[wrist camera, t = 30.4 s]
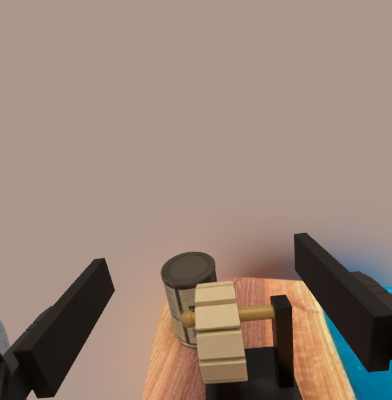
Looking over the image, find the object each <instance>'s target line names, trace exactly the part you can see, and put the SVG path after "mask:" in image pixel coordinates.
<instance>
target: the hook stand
mask: <svg viewBox="0 0 392 400" xmlns="http://www.w3.org/2000/svg"><path fill="white" fill-rule="evenodd" d="M270 299H271V305H260V306H250V307H240V308H238V313H239V319H240V322H242V321H253V320H264V319H272V331H273V347H262V348H249V349H244V352H245V360H246V367H247V376H248V377H247V378H248V380H247V381H241V382H226V383H211V384H206V400H303V399H302V396H301V394H300V391H299V389H298V386H297V383H296V381H295V378H294V364H293V327H292V306H291V304H290V302H289V300H288V298H287V296H286V295H278V296H270ZM181 322H182V324H183V326H184V327H186V328H192V327H193V326H195V312H192V311H186V312H184V313H183V315H182V318H181Z"/></svg>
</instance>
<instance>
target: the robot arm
mask: <svg viewBox="0 0 392 400" xmlns="http://www.w3.org/2000/svg"><path fill="white" fill-rule="evenodd" d="M294 246H295V270H296V272H297V273H298V274H299V276H300V277H301V279H302V280H303V282H304V283H305V284H306V286H307V287H308V289H309V290H310V291H311V293H312V294H313V296H314V297H315V298H316V300H317V301H318V303H319V304H320V305H321V307H322V308H323V310H324V311H325V312H326V314H327V315H328V317H329V318H330V319H331V321H332V322H333V324H334V325H335V326H336V328H337V329H338V331H339V332H340V333H341V335H342V336H343V338H344V339H345V340H346V342H347V343H348V345H349V346H350V347H351V349H352V350H353V352H354V353H355V354H356V356H357V357H358V359H359V360H360V361H361V363H362V364H363V366H364V367H365V368H366V370H367V371H368V372H376V371H388V370H389V364H390V359H391V360H392V294H391V293H388V291H387V290H386V289H384V288H383V287H381V286H380V284H378V283H377V282H376V281H374V280H373V279H372V278H371V277H369V276H367V275H365V274H363V273H361V272H359V271H357V272H349V271H348V270H347V269H346V268H345V267H344V266H342V265H341V264H340V263H339V262H338V261H337V260H336V259H335V258H333V257H332V256H331V255H330V254H329V253H328V252H327V251H326V250H325V249H323V248H322V247H321V246H320V245H319V244H318V243H317V242H316V241H315V240H314V239H312V238H311V237H310V236H309V235H308V234H307V233H300V234H294ZM114 291H115V289H114V286H113V283H112V280H111V276H110V274H109V270H108V267H107V264H106V261H105V258H100V259H94V260H93V261H92V262H91V264H90V265H89V266H88V267H87V268H86V269H85V270H84V272H83V273H82V274H81V275H80V276H79V277H78V278H77V279H76V280H75V282H74V283H73V284H72V285H71V286H70V287H69V288H68V290H67V291H66V292H65V293H64V294H63V295H62V296H61V297H60V299H59V300H58V301H57V302H56V303H55V304H54V305H53V306H50V307H49V308H48V309H47V310H45V311H44V312H43V313H41V314H40V315H39V316H38V317H37V318H36V320H35V321H34V322H33V324H31V325H30V326H29V327H28V329H26V331H25V332H24V333H23V334H22V335H21V336H20V337H19V338H18V339H17V340H16V341H15V343H14V344H13V345H12V346H11V347H10V344H9V341H8V337H7V334H6V331H5V328H4V326H3V324H2V322H1V321H0V400H27V399H26V398H27V396H28V395H29V393H30V392H31V390H32V389H33V391H34V393H35V395H36V397H37V398H50V397H54V396H55V394H56V393H57V391H58V389H59V387H60V386H61V384H62V382H63V380H64V379H65V377H66V375H67V373H68V372H69V370H70V368H71V366H72V364H73V363H74V361H75V359H76V358H77V356H78V354H79V352H80V351H81V349H82V347H83V345H84V344H85V342H86V340H87V338H88V337H89V335H90V333H91V331H92V329H93V328H94V326H95V324H96V322H97V321H98V319H99V317H100V315H101V314H102V312H103V310H104V308H105V307H106V305H107V303H108V301H109V300H110V298H111V296H112V294H113V293H114Z"/></svg>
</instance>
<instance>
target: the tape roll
mask: <svg viewBox="0 0 392 400" xmlns="http://www.w3.org/2000/svg"><path fill="white" fill-rule="evenodd" d="M195 306H196V307H195V326H196V330H197V335H196V341H197V351H198V359H199V367H200V372H201V377H202V380H203V383H205V384H211V383H226V382H241V381H247V380H248V378H247V377H248V376H247V367H246V360H245V352H244V345H243V338H242V332H241V328H240V319H239V313H238V307H237V303H236V296H235V291H234V286H233V283H232V281H222V282H213V283H203V284H197V286H196V290H195Z"/></svg>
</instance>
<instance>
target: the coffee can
mask: <svg viewBox="0 0 392 400" xmlns="http://www.w3.org/2000/svg"><path fill="white" fill-rule="evenodd" d="M161 277H162V280H163V282H164V286H165V290H166V294H167V299H168V303H169V307H170V311H171V316H172V320H173V324H174V328H175V334H176V337H177V338H178V340H179V341H180V342H181V343H182V344H184V345H185V346H188V347H192V348H197V341H196V335H197V330H196V326H193V327H192V328H186V327H184V326H183V324H182V322H181V318H182V315H183V313H184V312H186V311H192V312H195V307H196V306H195V290H196V286H197V284H203V283H213V282H217V278H216V272H215V261H214V259H213V258H212V257H211V256H209V255H208V254H205V253H202V252H187V253H183V254H179V255H177V256H175V257H173V258H171V259H170V260H168V261H167V262H166V263H165V264H164V265H163V267H162V269H161Z"/></svg>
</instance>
